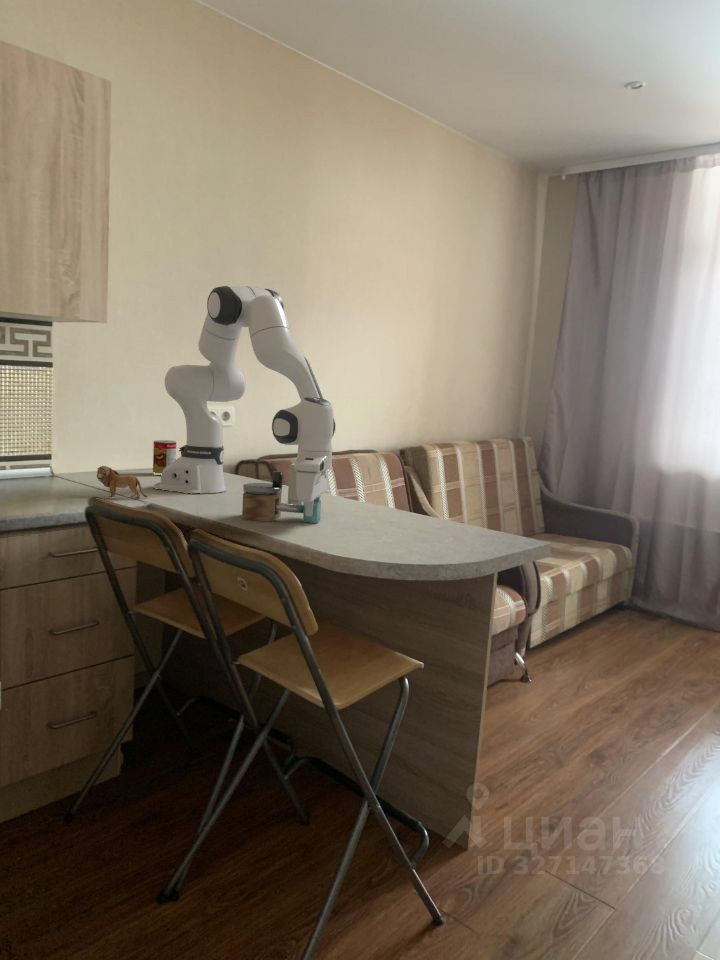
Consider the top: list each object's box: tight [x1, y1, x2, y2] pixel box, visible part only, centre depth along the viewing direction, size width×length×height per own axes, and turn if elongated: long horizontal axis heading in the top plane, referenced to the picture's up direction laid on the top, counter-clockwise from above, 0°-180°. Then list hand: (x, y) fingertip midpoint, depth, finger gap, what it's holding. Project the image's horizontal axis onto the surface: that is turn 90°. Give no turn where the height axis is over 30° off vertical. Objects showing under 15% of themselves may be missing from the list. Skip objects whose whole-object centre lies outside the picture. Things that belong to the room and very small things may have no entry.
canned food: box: [152, 439, 177, 473], centre depth 258 cm, size 8×8×12 cm
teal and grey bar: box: [275, 499, 322, 524], centre depth 190 cm, size 19×4×5 cm, turn 80°
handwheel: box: [242, 470, 284, 495], centre depth 190 cm, size 10×10×6 cm
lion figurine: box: [96, 465, 149, 500], centre depth 208 cm, size 15×5×9 cm, turn 91°
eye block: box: [241, 492, 282, 522], centre depth 190 cm, size 8×8×7 cm
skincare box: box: [287, 462, 304, 505], centre depth 211 cm, size 6×4×12 cm
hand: (311, 514), depth 188 cm, fingers closed on teal and grey bar, 4 cm apart
